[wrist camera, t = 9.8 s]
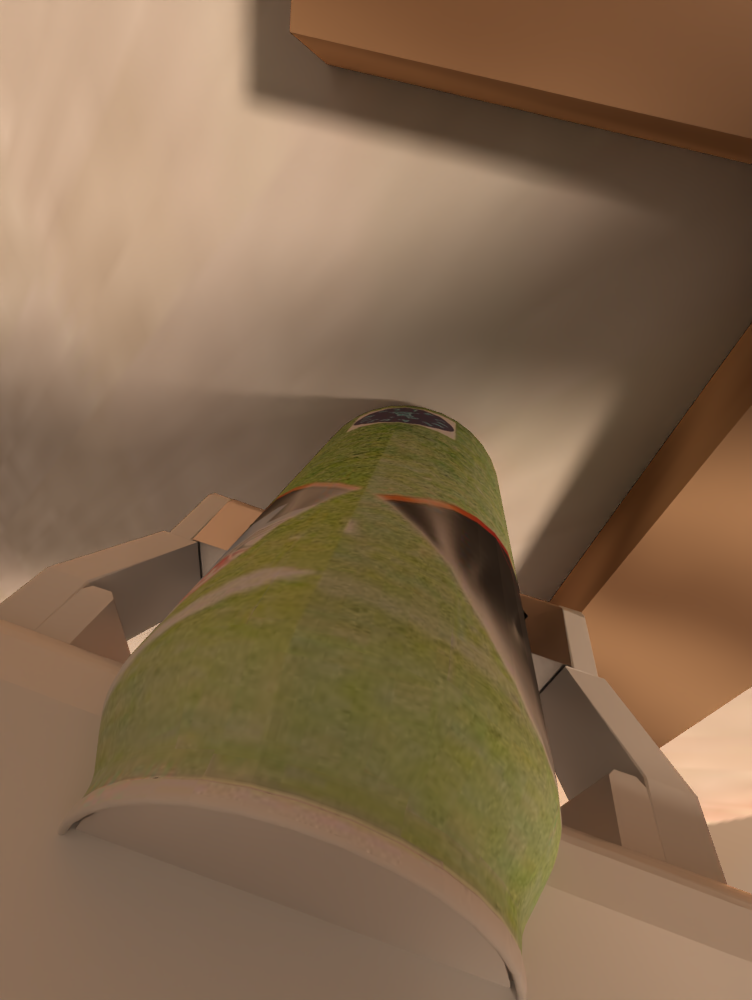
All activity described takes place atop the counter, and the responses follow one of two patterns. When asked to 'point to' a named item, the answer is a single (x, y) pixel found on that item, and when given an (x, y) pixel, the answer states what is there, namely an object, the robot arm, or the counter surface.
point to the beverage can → (351, 708)
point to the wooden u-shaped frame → (733, 388)
